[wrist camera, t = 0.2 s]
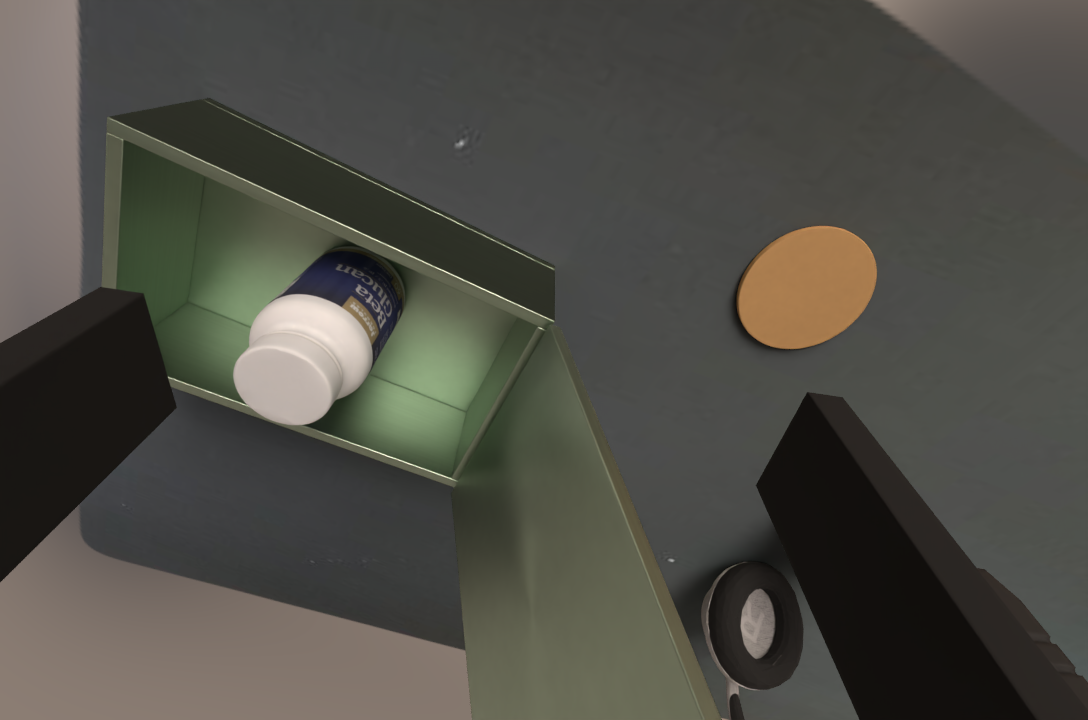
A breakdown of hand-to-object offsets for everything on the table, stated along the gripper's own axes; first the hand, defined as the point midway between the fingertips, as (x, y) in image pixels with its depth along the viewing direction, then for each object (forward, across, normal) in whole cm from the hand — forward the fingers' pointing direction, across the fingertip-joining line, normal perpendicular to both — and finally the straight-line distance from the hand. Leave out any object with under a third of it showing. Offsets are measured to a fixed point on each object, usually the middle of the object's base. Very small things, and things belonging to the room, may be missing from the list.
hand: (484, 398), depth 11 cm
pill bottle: (+18, -8, -7) cm, 21 cm away
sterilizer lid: (+2, +3, -11) cm, 11 cm away
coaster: (+18, +16, -3) cm, 25 cm away
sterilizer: (+18, -8, -7) cm, 22 cm away
